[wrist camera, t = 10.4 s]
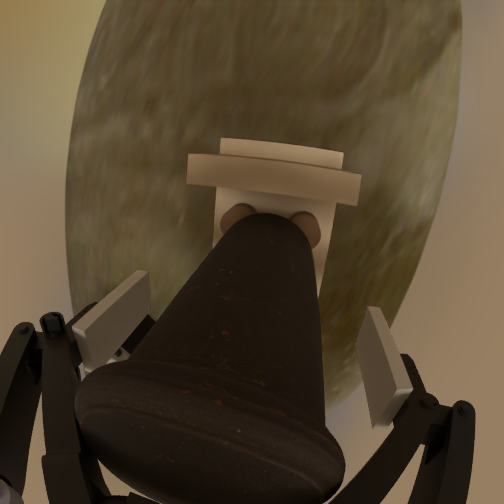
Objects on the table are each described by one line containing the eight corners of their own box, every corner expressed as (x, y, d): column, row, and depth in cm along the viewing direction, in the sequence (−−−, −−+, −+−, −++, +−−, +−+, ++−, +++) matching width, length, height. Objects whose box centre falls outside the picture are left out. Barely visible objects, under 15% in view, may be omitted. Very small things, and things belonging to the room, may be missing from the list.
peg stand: (223, 138, 25) (190, 131, 17) (341, 153, 24) (365, 151, 16) (211, 322, 32) (185, 374, 24) (306, 338, 31) (307, 395, 22)
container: (240, 317, 27) (166, 524, 8) (199, 230, 24) (16, 398, 6) (329, 290, 24) (362, 527, 6) (294, 193, 22) (289, 391, 3)
